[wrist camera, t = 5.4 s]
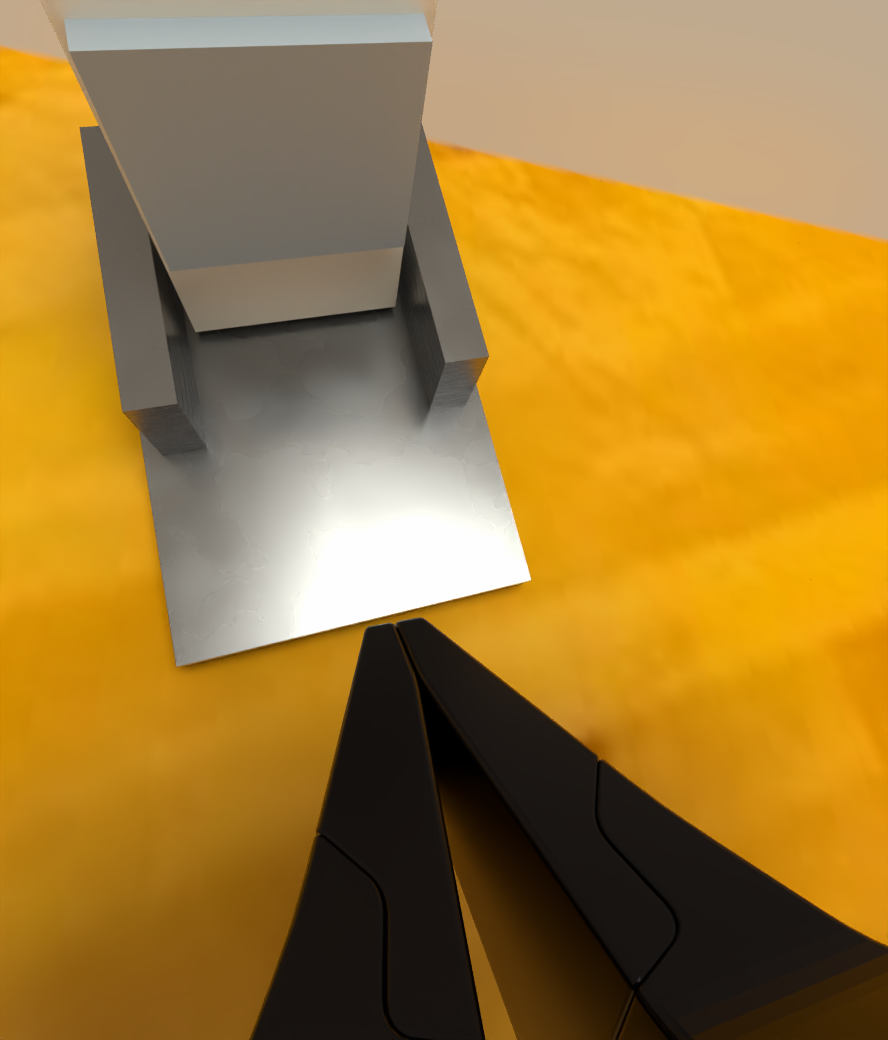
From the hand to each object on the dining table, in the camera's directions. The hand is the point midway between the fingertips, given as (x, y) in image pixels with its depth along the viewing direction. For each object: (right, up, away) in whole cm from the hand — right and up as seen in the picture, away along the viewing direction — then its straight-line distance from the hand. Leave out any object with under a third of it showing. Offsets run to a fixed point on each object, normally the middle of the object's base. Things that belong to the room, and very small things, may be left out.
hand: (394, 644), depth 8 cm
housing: (-3, +5, +10) cm, 12 cm away
